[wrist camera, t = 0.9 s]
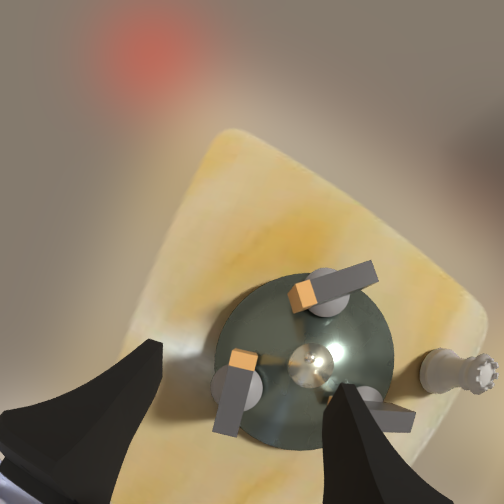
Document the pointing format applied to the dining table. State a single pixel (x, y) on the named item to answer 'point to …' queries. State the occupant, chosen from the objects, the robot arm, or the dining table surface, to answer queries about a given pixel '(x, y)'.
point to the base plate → (304, 359)
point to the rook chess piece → (457, 372)
